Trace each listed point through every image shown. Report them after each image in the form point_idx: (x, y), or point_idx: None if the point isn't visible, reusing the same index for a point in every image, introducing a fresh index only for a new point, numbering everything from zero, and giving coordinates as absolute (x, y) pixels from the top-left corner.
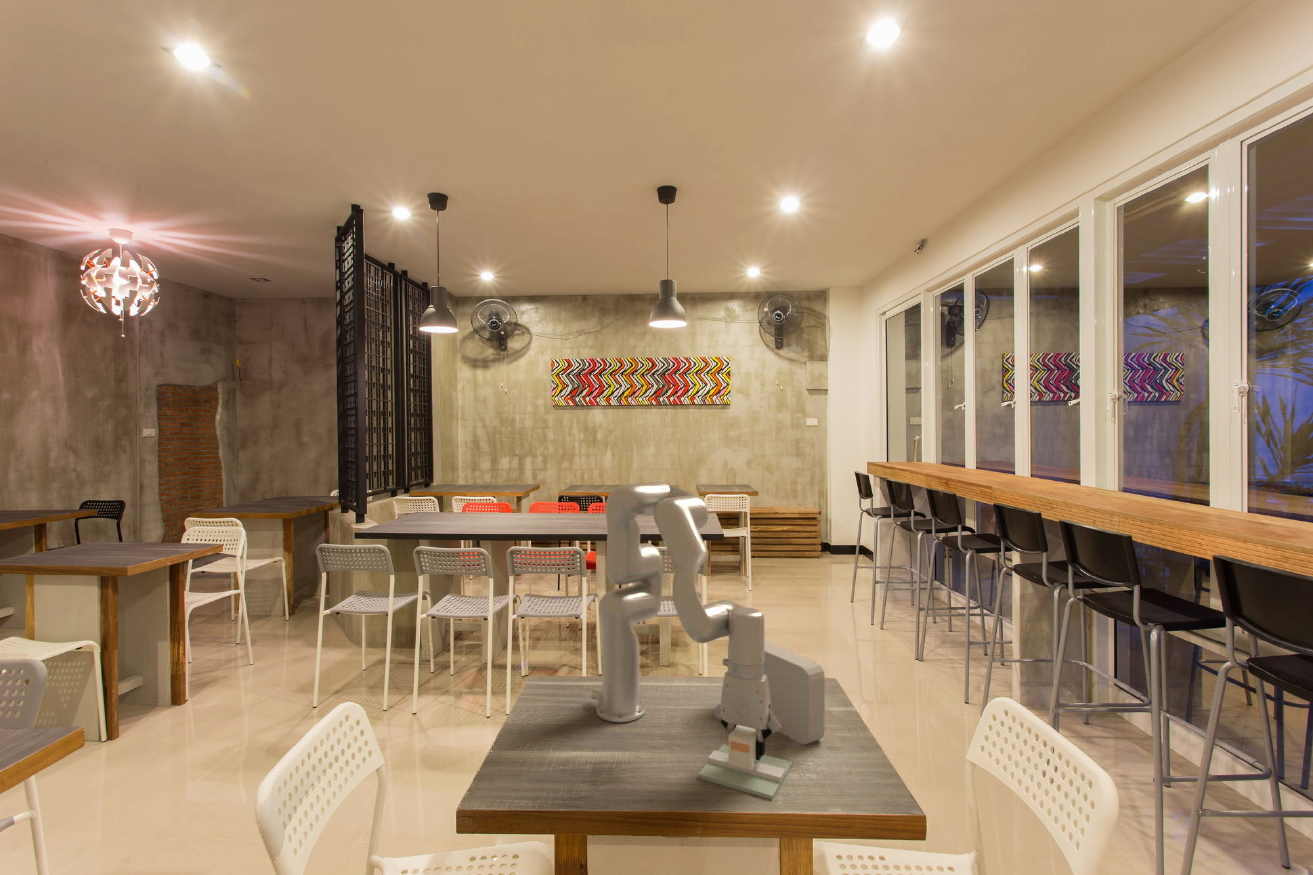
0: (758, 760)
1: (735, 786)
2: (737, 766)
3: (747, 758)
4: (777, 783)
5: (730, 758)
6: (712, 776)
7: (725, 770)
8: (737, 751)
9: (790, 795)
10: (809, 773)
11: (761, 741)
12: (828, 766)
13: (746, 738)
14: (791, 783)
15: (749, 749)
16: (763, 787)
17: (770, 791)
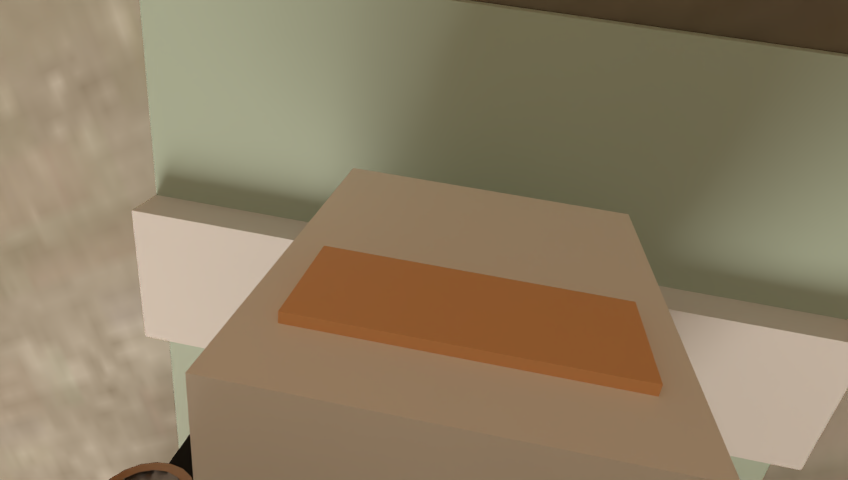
0: None
1: (514, 8)
2: (519, 197)
3: (373, 226)
4: (172, 172)
5: (615, 240)
6: (788, 81)
7: (652, 231)
8: (517, 280)
9: (68, 87)
10: (73, 384)
11: (151, 471)
12: (16, 470)
13: (315, 440)
14: (123, 246)
15: (301, 285)
16: (254, 70)
17: (177, 24)
